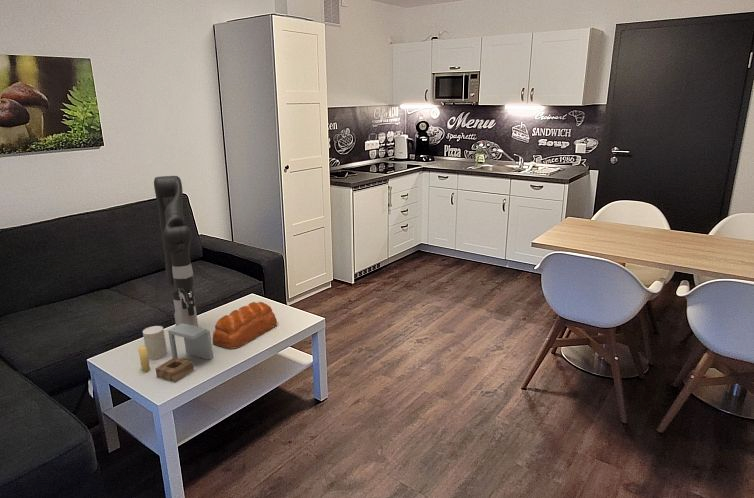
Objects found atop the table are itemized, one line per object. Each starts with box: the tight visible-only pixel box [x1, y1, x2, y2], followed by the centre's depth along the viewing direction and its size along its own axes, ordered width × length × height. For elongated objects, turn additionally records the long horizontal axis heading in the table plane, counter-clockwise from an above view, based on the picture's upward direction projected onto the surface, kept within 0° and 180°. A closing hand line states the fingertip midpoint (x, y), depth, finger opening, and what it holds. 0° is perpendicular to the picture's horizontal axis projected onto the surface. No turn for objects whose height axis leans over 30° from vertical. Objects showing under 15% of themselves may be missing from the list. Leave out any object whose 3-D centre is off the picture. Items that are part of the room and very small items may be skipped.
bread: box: [212, 301, 278, 350], centre depth 236 cm, size 16×31×13 cm, turn 150°
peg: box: [138, 345, 151, 373], centre depth 206 cm, size 3×3×10 cm
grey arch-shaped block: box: [167, 323, 214, 361], centre depth 212 cm, size 14×9×14 cm, turn 64°
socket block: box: [155, 357, 195, 383], centre depth 203 cm, size 10×10×4 cm
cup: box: [142, 325, 168, 361], centre depth 217 cm, size 8×8×12 cm
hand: (188, 311), depth 207 cm, fingers open, 8 cm apart
